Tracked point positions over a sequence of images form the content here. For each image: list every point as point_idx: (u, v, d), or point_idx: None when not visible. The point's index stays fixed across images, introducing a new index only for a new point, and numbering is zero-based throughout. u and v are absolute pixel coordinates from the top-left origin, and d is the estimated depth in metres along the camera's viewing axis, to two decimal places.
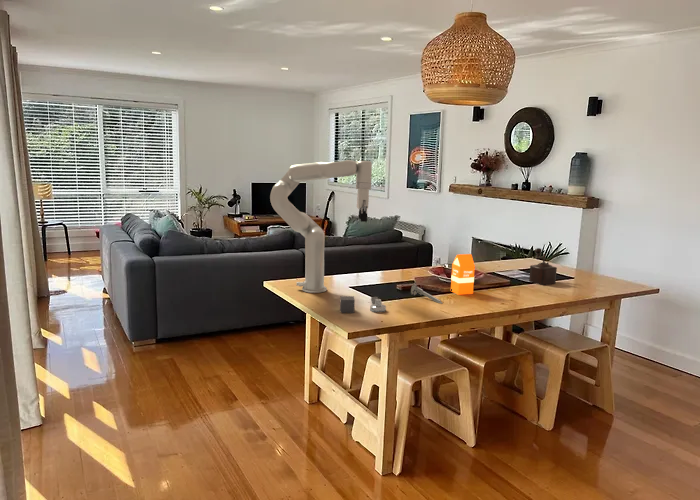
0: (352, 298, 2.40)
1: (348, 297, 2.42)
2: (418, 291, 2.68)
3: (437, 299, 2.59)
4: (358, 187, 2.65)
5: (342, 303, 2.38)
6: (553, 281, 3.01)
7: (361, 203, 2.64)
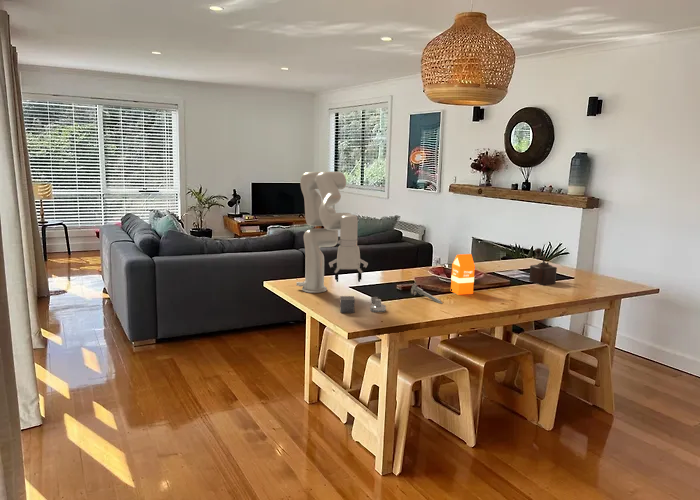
0: (352, 298, 2.40)
1: (348, 297, 2.42)
2: (418, 291, 2.68)
3: (437, 299, 2.59)
4: (354, 245, 2.34)
5: (342, 303, 2.38)
6: (553, 281, 3.01)
7: None
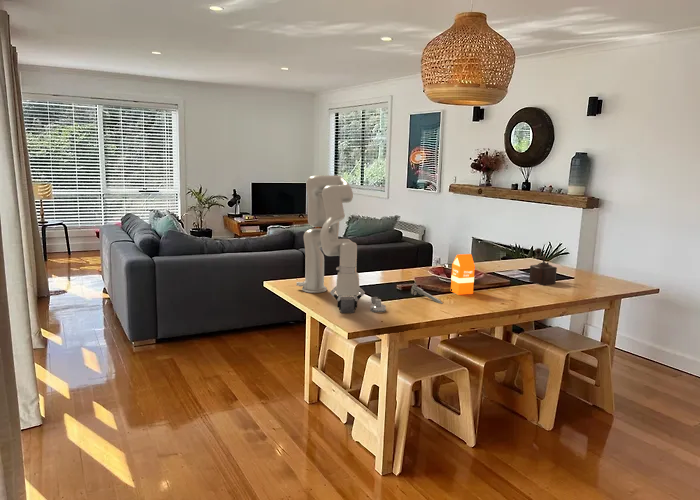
0: (352, 298, 2.40)
1: (348, 297, 2.42)
2: (418, 291, 2.68)
3: (437, 299, 2.59)
4: (353, 272, 2.36)
5: (342, 303, 2.38)
6: (553, 281, 3.01)
7: (359, 288, 2.39)
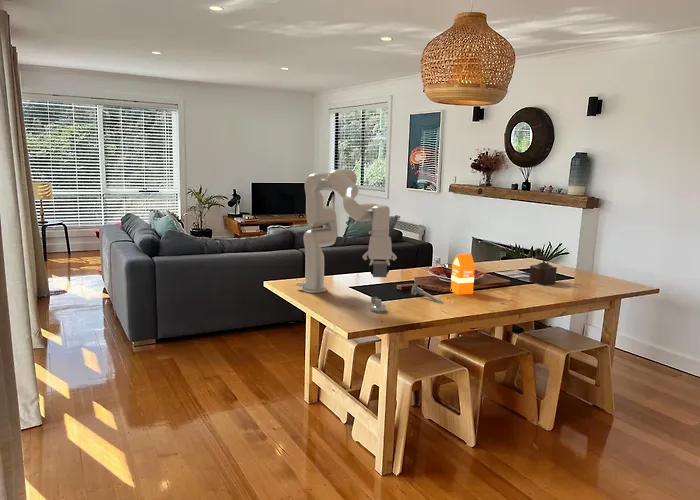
0: (384, 262, 2.39)
1: (380, 262, 2.41)
2: (418, 291, 2.68)
3: (437, 299, 2.59)
4: (386, 236, 2.35)
5: (375, 267, 2.37)
6: (553, 281, 3.01)
7: (391, 252, 2.38)
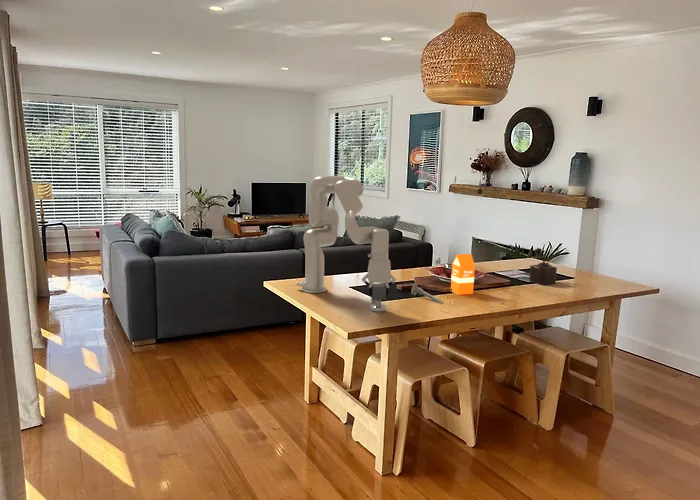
0: (383, 285, 2.41)
1: (379, 284, 2.43)
2: (418, 291, 2.68)
3: (437, 299, 2.59)
4: (385, 259, 2.37)
5: (374, 290, 2.39)
6: (553, 281, 3.01)
7: (390, 275, 2.40)
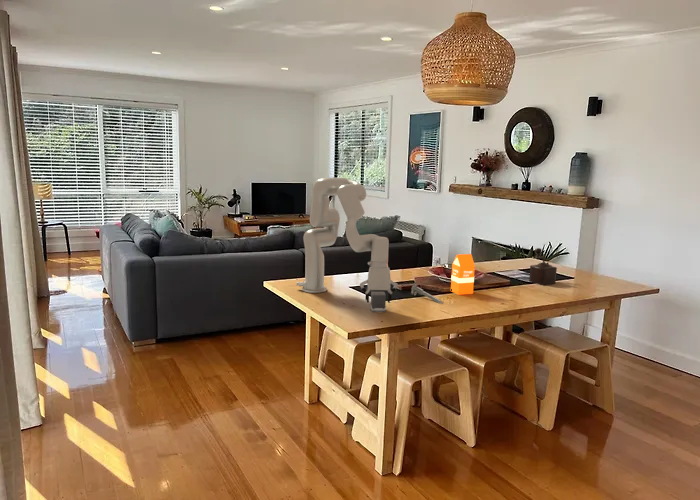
0: (383, 293, 2.42)
1: (379, 292, 2.43)
2: (418, 291, 2.68)
3: (437, 299, 2.59)
4: (385, 267, 2.37)
5: (374, 298, 2.40)
6: (553, 281, 3.01)
7: None
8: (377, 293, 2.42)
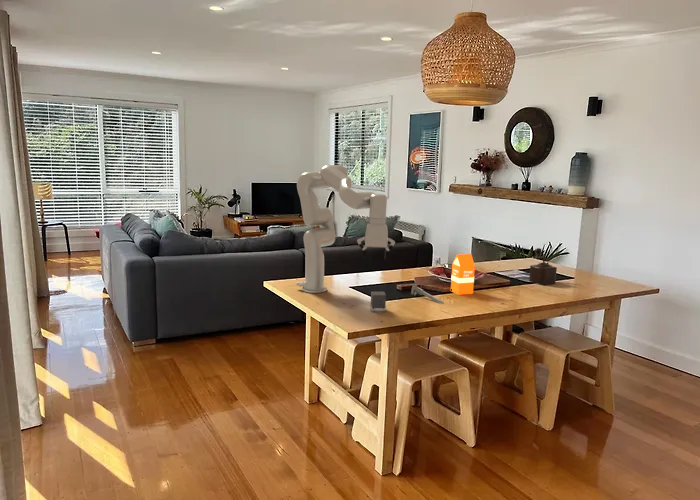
0: (383, 293, 2.42)
1: (379, 292, 2.43)
2: (418, 291, 2.68)
3: (438, 299, 2.59)
4: (383, 224, 2.40)
5: (374, 298, 2.40)
6: (553, 281, 3.01)
7: (387, 240, 2.43)
8: (377, 293, 2.42)
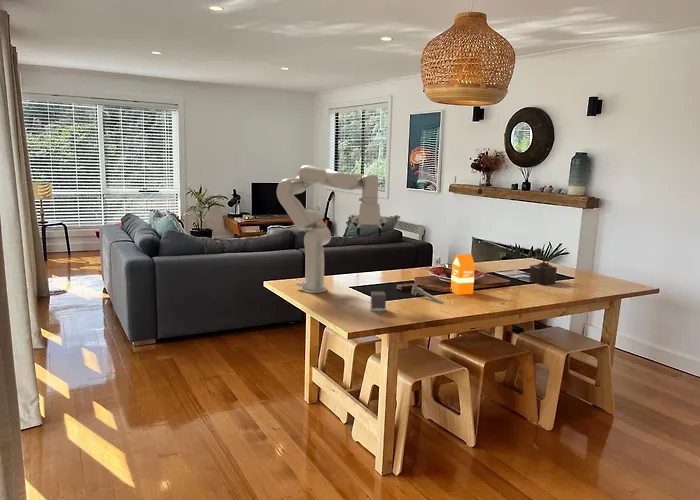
0: (383, 293, 2.42)
1: (379, 292, 2.43)
2: (419, 291, 2.68)
3: (438, 299, 2.59)
4: (375, 202, 2.55)
5: (374, 298, 2.40)
6: (553, 281, 3.01)
7: (380, 218, 2.58)
8: (377, 293, 2.42)
